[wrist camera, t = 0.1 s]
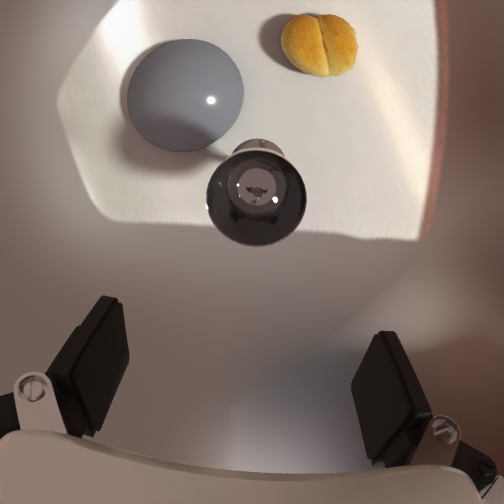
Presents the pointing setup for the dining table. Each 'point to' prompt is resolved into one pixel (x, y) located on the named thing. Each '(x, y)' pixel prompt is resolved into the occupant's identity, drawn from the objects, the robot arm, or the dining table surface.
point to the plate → (185, 95)
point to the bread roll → (320, 44)
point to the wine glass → (256, 195)
